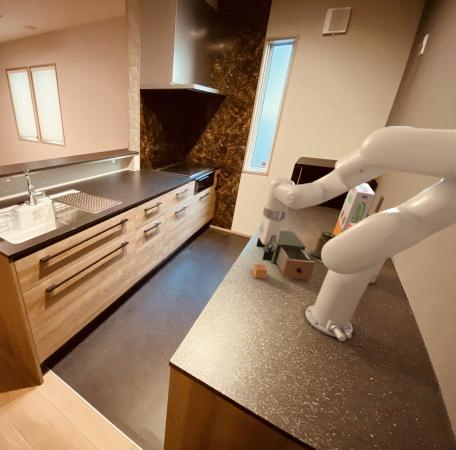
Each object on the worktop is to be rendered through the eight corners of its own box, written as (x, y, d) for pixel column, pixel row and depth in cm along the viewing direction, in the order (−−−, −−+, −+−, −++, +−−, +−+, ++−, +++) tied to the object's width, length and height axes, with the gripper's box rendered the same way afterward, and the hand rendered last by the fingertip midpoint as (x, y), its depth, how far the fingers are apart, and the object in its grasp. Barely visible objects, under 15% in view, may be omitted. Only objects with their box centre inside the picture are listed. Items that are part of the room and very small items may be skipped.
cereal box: (349, 254, 118) (375, 194, 105) (334, 250, 121) (357, 191, 108) (346, 237, 135) (367, 183, 123) (332, 234, 138) (352, 181, 126)
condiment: (331, 258, 114) (340, 235, 109) (322, 263, 110) (331, 239, 105) (315, 251, 120) (323, 229, 115) (306, 256, 115) (314, 233, 110)
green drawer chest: (299, 265, 108) (305, 246, 104) (271, 262, 109) (277, 243, 105) (287, 249, 121) (292, 231, 117) (263, 246, 122) (267, 229, 118)
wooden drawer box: (310, 281, 96) (317, 264, 93) (283, 278, 97) (288, 261, 94) (296, 260, 110) (301, 245, 106) (272, 258, 111) (276, 243, 107)
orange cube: (265, 278, 98) (267, 270, 96) (254, 277, 99) (256, 269, 97) (262, 272, 102) (264, 264, 100) (252, 271, 102) (254, 263, 100)
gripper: (258, 203, 97) (248, 241, 104) (270, 221, 82) (258, 264, 89) (277, 205, 96) (267, 243, 104) (294, 224, 81) (280, 267, 88)
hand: (263, 253), depth 96 cm, fingers open, 9 cm apart
